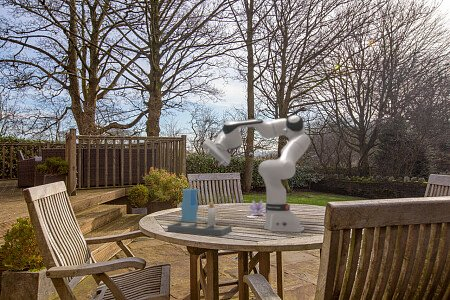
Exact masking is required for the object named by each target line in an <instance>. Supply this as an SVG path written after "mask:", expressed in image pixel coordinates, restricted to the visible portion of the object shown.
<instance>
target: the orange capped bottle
mask: <svg viewBox="0 0 450 300" xmlns="http://www.w3.org/2000/svg"><path fill="white" fill-rule="evenodd" d="M214 205H215V202H214V201H213V202H212V201H210V202H209V206H208V207H207V224H206V227H208V226H210V225H214V228H217V225H216V207H215V206H214Z"/></svg>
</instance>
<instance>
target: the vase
mask: <svg viewBox="0 0 450 300" xmlns="http://www.w3.org/2000/svg"><path fill="white" fill-rule="evenodd" d="M181 191H182V196H183V197H182V202H181V204H180V208H181V219H180V222H185V223H193V222H198V215H197V214H198V209H199V204H198V203H199V202H198V200H197V198H198V197H197V196H198V193H199V189H197V188H195V189H193V188H188V189H187V188H186V189H185V188H184V189H181Z"/></svg>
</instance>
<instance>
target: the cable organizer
mask: <svg viewBox="0 0 450 300" xmlns="http://www.w3.org/2000/svg"><path fill="white" fill-rule="evenodd" d="M232 231H233V229H232V225H229V226H227V227H224V228H217V227H215V228H214V225H210V226H208V227H207V226H205V227H203V226H198V224H197V223H192V224H189V225H182V221H178V222H176V223H172V224H169V225H167V232H168V233H169V232H171V233H182V234H183V233H184V234H194V235H204V236H205V235H206V236H213V237H215V236H216V237H223V236H225V235H228V234H229V233H231V232H232Z"/></svg>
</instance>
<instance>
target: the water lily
mask: <svg viewBox="0 0 450 300" xmlns="http://www.w3.org/2000/svg"><path fill="white" fill-rule="evenodd" d="M251 202H252V204H247V206H248V210H251V211H252V212H251V213H250V217H253V216H257V215H261V216H263V217H266V212H264V211H265V210H266V206H263V205H264V204H263V203H264V201H263V200H262V199H261V200H260V201H259V202H258V203H257V202H256V201H255V200H254V199H253V200H252V201H251Z"/></svg>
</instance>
